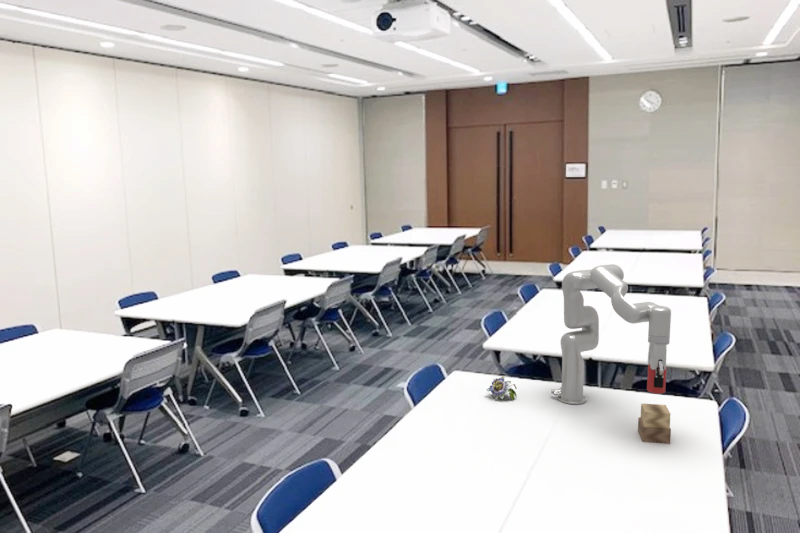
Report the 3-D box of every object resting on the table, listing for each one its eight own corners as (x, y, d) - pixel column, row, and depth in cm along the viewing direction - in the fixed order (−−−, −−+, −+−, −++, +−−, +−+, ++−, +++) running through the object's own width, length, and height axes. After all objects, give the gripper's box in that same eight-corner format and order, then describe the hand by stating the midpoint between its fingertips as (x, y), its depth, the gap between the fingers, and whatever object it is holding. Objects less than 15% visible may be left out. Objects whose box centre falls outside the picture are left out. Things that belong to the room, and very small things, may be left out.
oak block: (644, 426, 238) (645, 412, 237) (640, 417, 246) (641, 403, 245) (669, 428, 236) (670, 413, 235) (664, 419, 244) (665, 405, 244)
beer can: (660, 388, 242) (662, 358, 240) (668, 394, 236) (670, 363, 234) (643, 388, 242) (645, 359, 240) (651, 394, 235) (652, 364, 234)
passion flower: (496, 411, 284) (481, 389, 284) (505, 399, 293) (490, 378, 293) (515, 402, 277) (499, 380, 278) (523, 390, 286) (508, 369, 286)
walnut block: (642, 442, 238) (643, 427, 237) (637, 431, 248) (638, 417, 247) (670, 444, 236) (670, 429, 235) (664, 433, 246) (665, 419, 245)
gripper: (644, 332, 245) (641, 376, 248) (652, 344, 228) (650, 391, 231) (664, 333, 243) (661, 377, 246) (674, 345, 227) (671, 392, 229)
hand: (656, 383), depth 238 cm, fingers closed on beer can, 6 cm apart
